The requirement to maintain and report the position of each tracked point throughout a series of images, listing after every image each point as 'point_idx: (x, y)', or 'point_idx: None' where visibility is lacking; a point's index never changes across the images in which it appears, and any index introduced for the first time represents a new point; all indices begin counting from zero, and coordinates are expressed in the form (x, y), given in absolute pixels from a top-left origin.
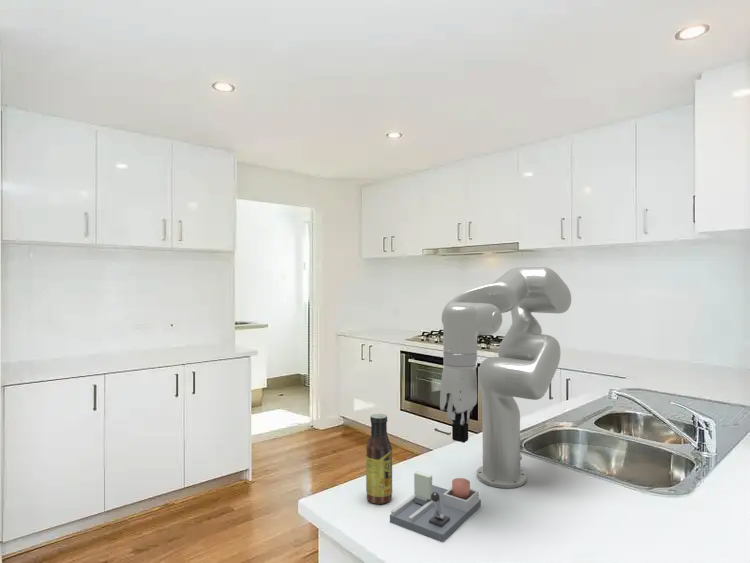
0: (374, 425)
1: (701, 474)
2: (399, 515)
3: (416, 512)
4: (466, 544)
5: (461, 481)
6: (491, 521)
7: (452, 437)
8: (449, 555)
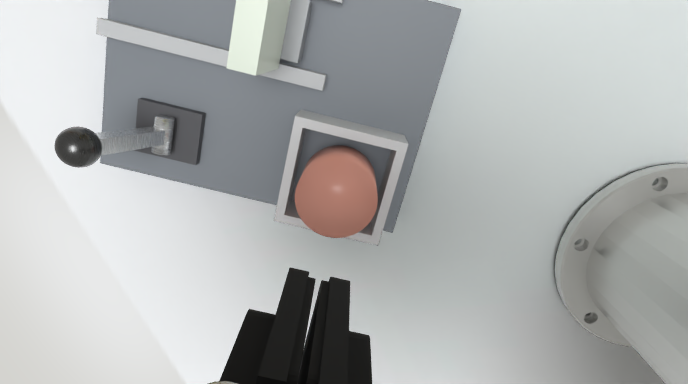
0: None
1: None
2: None
3: (148, 37)
4: (142, 223)
5: (340, 201)
6: (304, 267)
7: (289, 274)
8: (64, 191)
